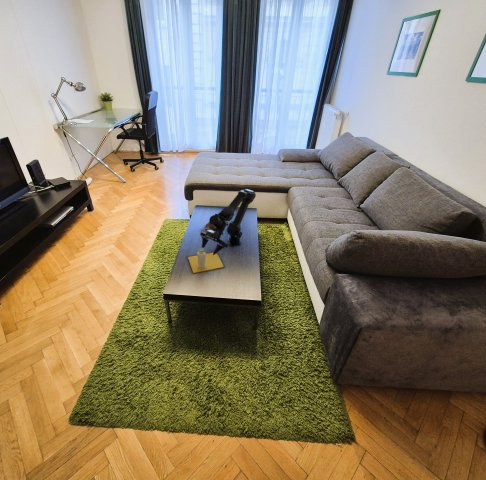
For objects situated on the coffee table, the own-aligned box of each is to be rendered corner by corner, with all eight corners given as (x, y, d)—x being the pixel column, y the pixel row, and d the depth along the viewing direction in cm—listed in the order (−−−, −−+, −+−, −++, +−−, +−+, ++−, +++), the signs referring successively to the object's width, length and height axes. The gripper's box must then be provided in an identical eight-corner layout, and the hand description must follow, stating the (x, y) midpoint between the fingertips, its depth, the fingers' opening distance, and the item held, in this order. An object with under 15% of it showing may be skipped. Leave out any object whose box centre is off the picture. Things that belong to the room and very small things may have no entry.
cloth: (216, 252, 173) (216, 251, 173) (223, 267, 161) (223, 266, 161) (187, 257, 168) (187, 257, 168) (193, 273, 156) (193, 272, 155)
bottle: (206, 263, 163) (205, 247, 156) (205, 268, 159) (205, 252, 152) (198, 263, 163) (197, 246, 156) (197, 268, 159) (196, 251, 152)
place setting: (212, 221, 208) (212, 214, 204) (234, 228, 199) (235, 221, 196) (199, 230, 195) (199, 224, 192) (223, 238, 187) (223, 231, 184)
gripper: (201, 219, 159) (189, 242, 158) (225, 230, 150) (213, 254, 149) (210, 225, 169) (198, 247, 168) (233, 236, 159) (221, 259, 158)
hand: (207, 252), depth 160 cm, fingers open, 9 cm apart
